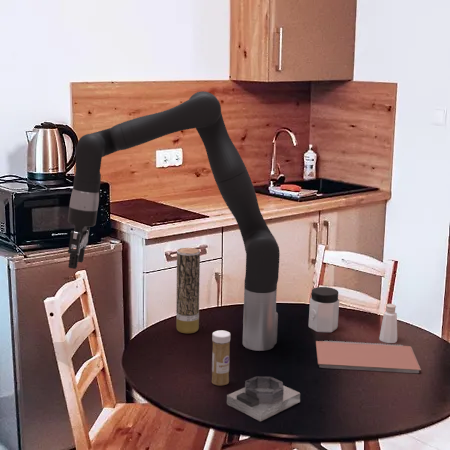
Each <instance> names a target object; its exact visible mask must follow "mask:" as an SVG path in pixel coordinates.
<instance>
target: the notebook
mask: <svg viewBox="0 0 450 450" xmlns="http://www.w3.org/2000/svg"><path fill="white" fill-rule="evenodd" d="M315 347H316V348H315V349H316V358H317V365H318V367H319V368H320V369H332V370H333V369H335V370H337V369H338V370H351V371H352V370H353V371H369V372H371V371H372V372H387V373H388V372H389V373H405V374H420V371H422V369H421V366H420V365H419V361H418V359H417V357H416V355H415V352H414V350H413V348H412V346H411V345H410V346H409V345H403V344H394V343H382V342H381V343H379V342H378V343H377V342H376V343H374V342H373V343H372V342H366V343H365V342H361V341H359V342H358V341H356V342H355V341H354V342H353V341H346V342H345V341H340V340H339V341H338V340H336V341H335V340H334V341H333V340H329V341H328V340H324V341H323V340H319V341H318V340H315Z"/></svg>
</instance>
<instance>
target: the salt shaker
mask: <svg viewBox="0 0 450 450" xmlns="http://www.w3.org/2000/svg"><path fill="white" fill-rule="evenodd" d="M385 307H386V308H385V311H384V313H383V316H382V323H381V327H380V332H379V338H378V339H379V341H380V342H381V343H382V342H383V343H384V344H394V343H397V341H398V315H397V312H396V307H397V306H396V304H393V303H387V304H386V306H385Z"/></svg>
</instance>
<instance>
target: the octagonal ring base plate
mask: <svg viewBox="0 0 450 450" xmlns="http://www.w3.org/2000/svg"><path fill="white" fill-rule="evenodd" d="M244 382H245V383H244V387H242V388H240V389H238V390H235V391H234V392H231V393H228V394H226V405H227V406H229V407H231V408H233V409H235V410H237V411H238V412H240V413H243V414H245V415H247V416H249V417H251V418H253V419H255V420H257V421H258V422H263V421H265V420H267V419H269V418H271V417H273V416H274V415H277V414H279V413H280V412H283V411H285V410H287V409H289V408H291V407H293V406H295V405H297V404H298V403H301V393H300V392H299V391H297V390H295V389H293V388H291V387H287V386H285V385H284V383H283V381H282V380H279V379H277V378H274V377H273V376H254V377H251V378H249V379H247V380H245V381H244Z"/></svg>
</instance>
